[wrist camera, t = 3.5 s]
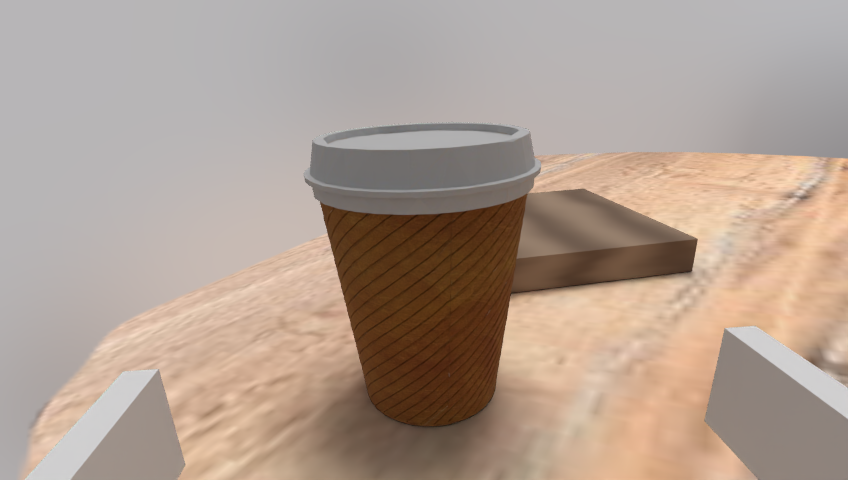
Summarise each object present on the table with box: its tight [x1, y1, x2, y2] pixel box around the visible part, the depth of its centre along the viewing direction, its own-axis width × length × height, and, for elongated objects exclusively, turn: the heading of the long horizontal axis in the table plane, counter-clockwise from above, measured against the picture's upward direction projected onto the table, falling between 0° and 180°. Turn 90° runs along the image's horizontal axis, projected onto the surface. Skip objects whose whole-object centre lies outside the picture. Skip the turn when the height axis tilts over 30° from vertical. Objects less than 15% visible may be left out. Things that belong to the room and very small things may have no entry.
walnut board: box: [511, 189, 698, 293], centre depth 39 cm, size 16×16×2 cm
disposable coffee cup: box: [304, 122, 541, 426], centre depth 20 cm, size 10×10×12 cm
